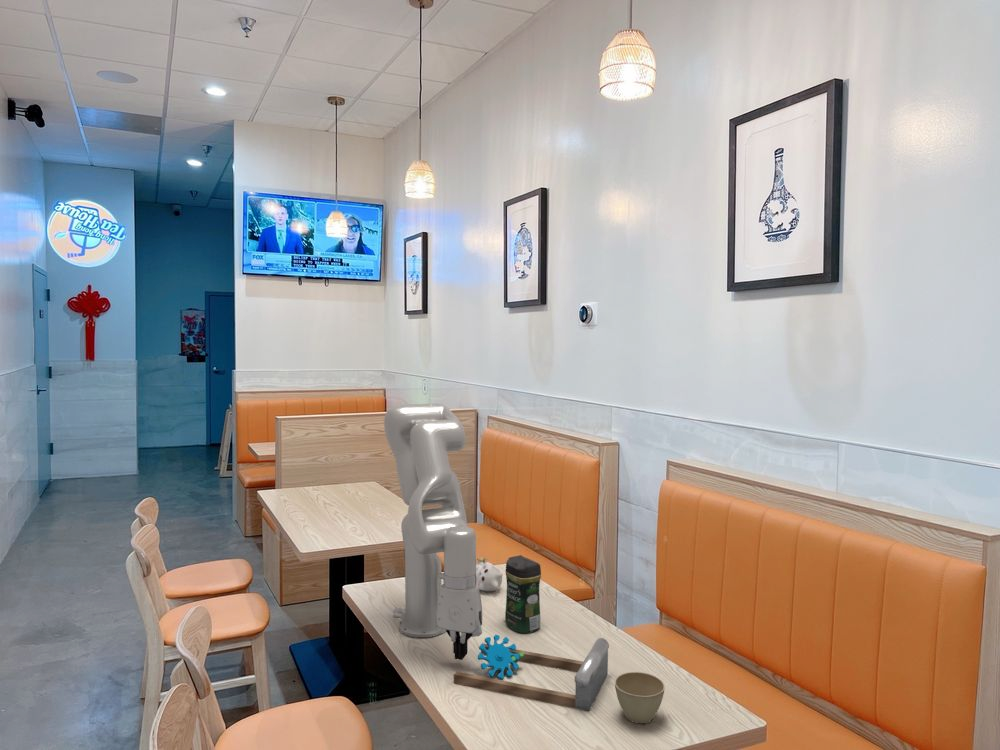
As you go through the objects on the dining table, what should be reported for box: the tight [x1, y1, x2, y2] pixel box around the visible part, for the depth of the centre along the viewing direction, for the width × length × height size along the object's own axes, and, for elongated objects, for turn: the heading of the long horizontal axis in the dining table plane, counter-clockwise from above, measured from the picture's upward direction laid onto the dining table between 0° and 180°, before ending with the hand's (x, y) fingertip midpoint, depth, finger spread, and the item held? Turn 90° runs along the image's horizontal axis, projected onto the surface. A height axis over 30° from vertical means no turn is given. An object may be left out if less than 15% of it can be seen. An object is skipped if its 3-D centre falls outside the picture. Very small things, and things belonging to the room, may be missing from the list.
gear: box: [477, 634, 524, 680], centre depth 163 cm, size 11×6×10 cm
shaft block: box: [574, 637, 610, 712], centre depth 154 cm, size 3×18×8 cm, turn 158°
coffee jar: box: [504, 554, 542, 634], centre depth 187 cm, size 10×8×19 cm
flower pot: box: [614, 671, 666, 724], centre depth 143 cm, size 10×10×7 cm
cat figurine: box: [476, 557, 503, 592], centre depth 215 cm, size 10×8×15 cm
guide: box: [453, 643, 584, 709], centre depth 160 cm, size 28×17×2 cm, turn 69°
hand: (460, 657), depth 165 cm, fingers closed
